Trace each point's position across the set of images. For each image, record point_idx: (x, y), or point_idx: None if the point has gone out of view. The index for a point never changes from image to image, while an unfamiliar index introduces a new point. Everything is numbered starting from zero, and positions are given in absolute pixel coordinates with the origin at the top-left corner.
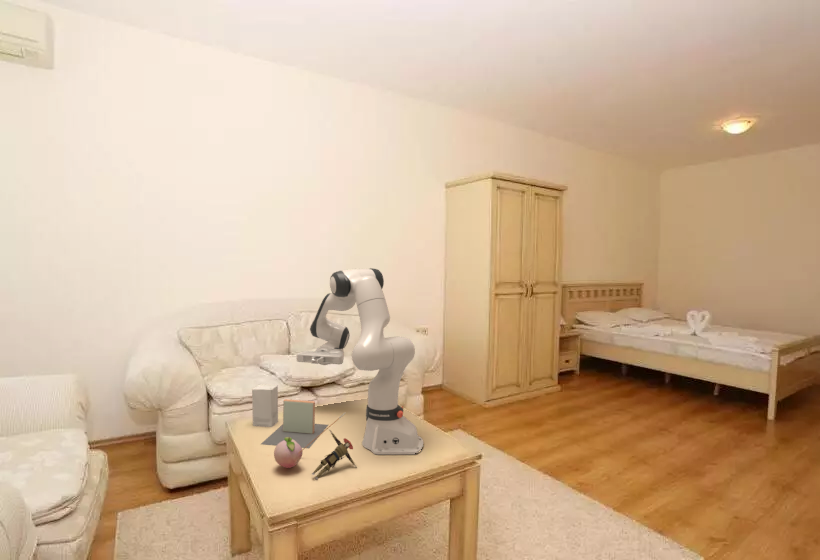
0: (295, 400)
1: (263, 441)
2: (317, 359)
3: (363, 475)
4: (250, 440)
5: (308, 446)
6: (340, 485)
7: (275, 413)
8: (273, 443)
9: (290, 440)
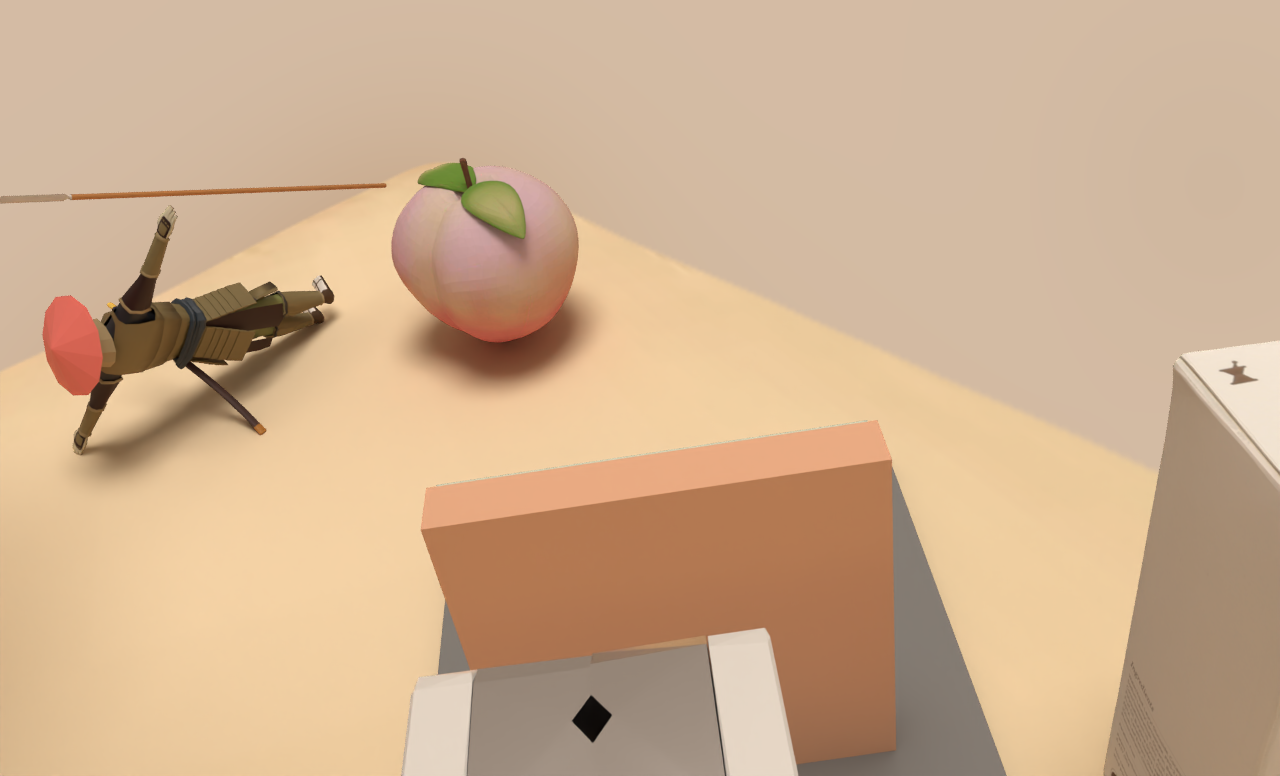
0: (715, 469)
1: (900, 491)
2: (461, 718)
3: (42, 408)
4: (1050, 499)
5: None
6: None
7: (1165, 764)
8: None
9: (464, 192)
